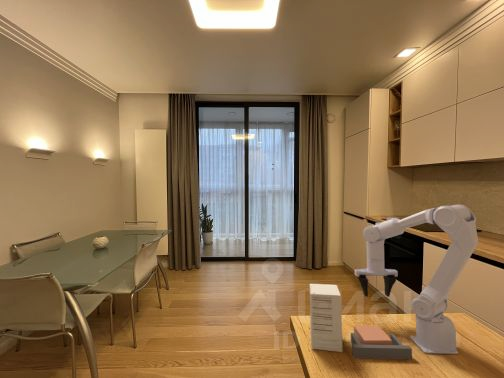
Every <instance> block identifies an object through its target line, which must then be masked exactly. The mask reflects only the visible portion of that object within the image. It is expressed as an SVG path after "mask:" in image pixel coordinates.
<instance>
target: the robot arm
mask: <svg viewBox="0 0 504 378" xmlns="http://www.w3.org/2000/svg"><path fill="white" fill-rule="evenodd" d="M476 222H477V216H475V214H474V213H473V212H472V210H471V209H470V208H469V207H468V206H466V205H464V204H459V203H458V204H453V205H442V206H438V207H433V208H428V209H424V210H422V211H420V212H416V213H414V214H412V215H409V216H406V217H404V218H402V219H400V218H398V217H393V216H392V217H391V216H390V217H387V218H386V220H384V221H382V222H379V221H377V222H375V225H367V226H366V227H364V229H363V231H362V236H363V238H364V240H365V241H366V242H365V243H366V268H359V269H354V275H355V276H356V278H357V279H358V281H359V284H360V286H361V288H362V293H363V295H364V297H368V296H369V293H368V292H369V291H368V287H369V286H368V285H369V279H368V278H367V277H382V278H383V282H384V283H383V284H384V295H385V296H386V297H387V298H389V297H390V296H391V291H392V289H393V286H394V285H395V283H396V282H397V278H398V275H399V274H398V273H399V272H398V270H396V269H392V268H388V269H387V268H385V245H384V244H385V241H386V239H389V238H393V237H396V236H399V235H402V234H404V232H405V230H406V229H410V228H412V227H416V226H419V225H423V224H425V223H428V224H430V225H435V224H436V225H437V226H438V227H439V228H440V229H441V230H442V231H444V233H446V234H447V236H448V238H449V239H450V245H449V246H448V248H447V250H446V251H445V253H444V255H443V257H442V258H441V261H440V263H439V264H438V266H437V268H436V270H435V271H434V273H433V275H432V277H431V279H430V281H429V282H428V285H427V286H426V287H425V288H424V289H423V290H422V291H421V292H420V294H419V295H418V296H416V297H415V298H413V299H412V300H411V302H410V306H411V310H412V311H413V313H414V314H415V332H416V333H415V335H410V336H409V339H411V340H412V341H413V343H415V345H417V347H419V349H420V350H422V352H423V353H424V354H440V355H442V354H443V355H444V354H445V355H446V354H447V355H448V354H449V355H451V354H452V355H458V354H459V351H457V331H456V326H455V324H454V322H453V320H452V319H451V318H450V317H448V316H446V315H444V312H446V310H447V309H448V305H449V304H448V300H449V298H450V294H449V293H450V291H451V289H452V288H453V286H454V285H455V283H456V281H457V280H458V278H459V277H460V274H461V273H462V271H463V270H464V268H465V266H466V264H467V263H468V261H469V259H470V257H471V256H472V254H473V253H474V251H476V250H475V249H476V248H477V246H478V245H479V238H478V237H479V236H478V232H477V225H476ZM396 277H397V278H396Z"/></svg>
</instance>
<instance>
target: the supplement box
mask: <svg viewBox="0 0 504 378" xmlns="http://www.w3.org/2000/svg"><path fill="white" fill-rule="evenodd" d="M309 304H310V306H309V307H310V309H309V310H310V311H309V313H310V314H309V317H310V318H309V319H310V324H309V325H310V329H309V330H310V347H311V349H312V350H320V351H329V352H339V353H343V323H342V322H343V321H342V319H343V318H342V317H343V316H342V295H341V292H340V289H339V286H338V285H337V284H327V283H326V284H323V283H309Z"/></svg>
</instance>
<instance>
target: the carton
mask: <svg viewBox="0 0 504 378" xmlns="http://www.w3.org/2000/svg"><path fill="white" fill-rule="evenodd" d="M353 331H354V332H353V333H354V334H355V335H356V337H357V339H358V340H359V342H360V344H365V345H392V340H391V339H390V336H389V335H387V333H386V332H385V331H384V330H383V328H381V327H380V325H353Z"/></svg>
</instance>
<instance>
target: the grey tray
mask: <svg viewBox="0 0 504 378" xmlns="http://www.w3.org/2000/svg"><path fill="white" fill-rule="evenodd" d="M389 338H390V339H391V340H392V345H365V344H360V342H359V340H358V339H357V337H356V335H355V334H354V332H350V343H351V345H352V346H351V347H352V353H351V354H352V356H353V358H354V359H379V360H380V359H381V360H382V359H385V360H387V359H388V360H413V349H412V347H411V346H410V345H408V344H407V345H405V344H403V343H402V342H401V341H400V339H399V338H398V337H397V336H396V335H395V333H389Z"/></svg>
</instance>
